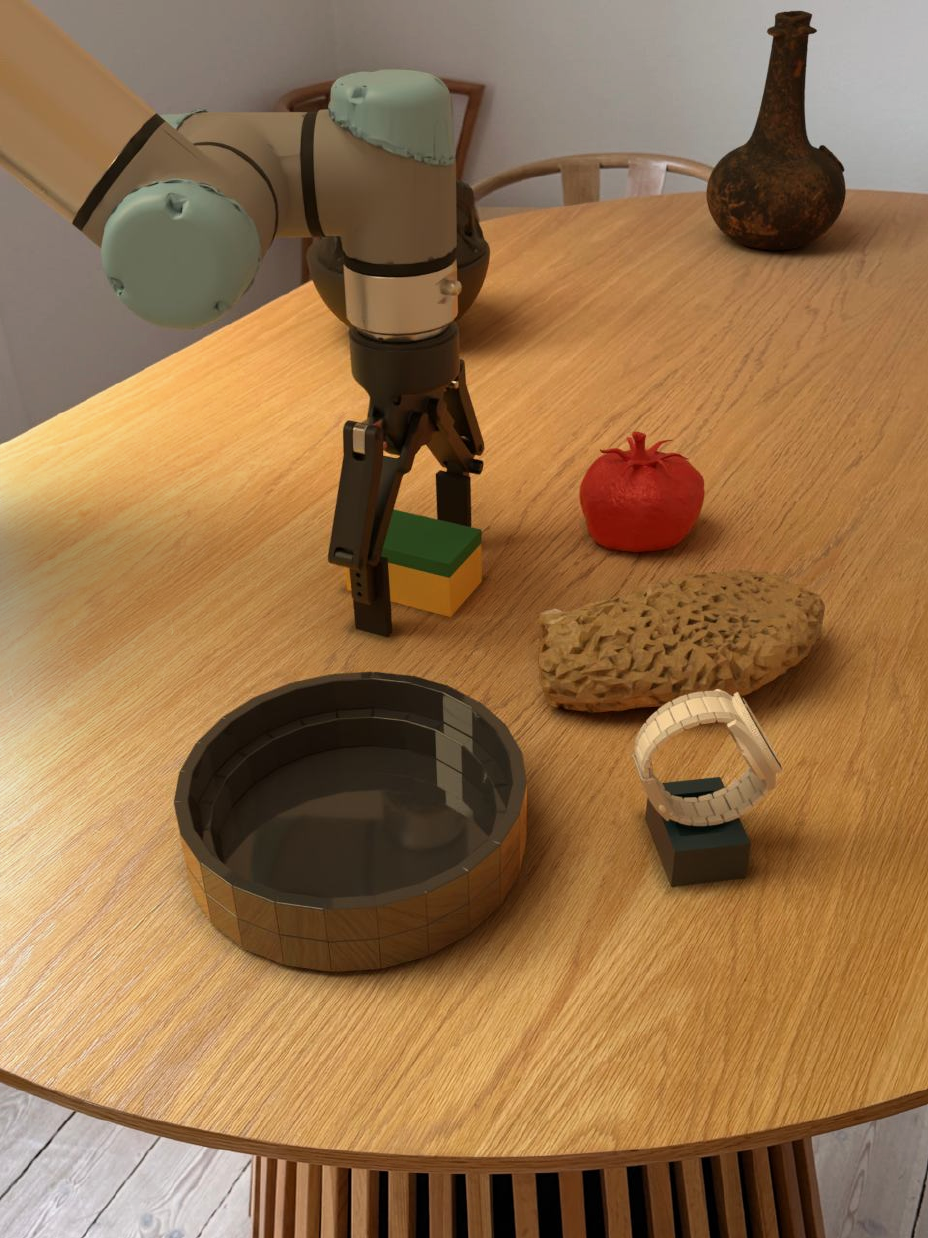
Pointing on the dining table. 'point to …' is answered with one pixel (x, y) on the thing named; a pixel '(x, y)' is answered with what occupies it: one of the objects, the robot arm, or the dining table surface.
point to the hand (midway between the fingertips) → (416, 587)
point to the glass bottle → (779, 159)
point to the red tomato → (641, 497)
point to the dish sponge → (431, 562)
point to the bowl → (353, 820)
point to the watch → (704, 791)
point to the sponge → (677, 641)
